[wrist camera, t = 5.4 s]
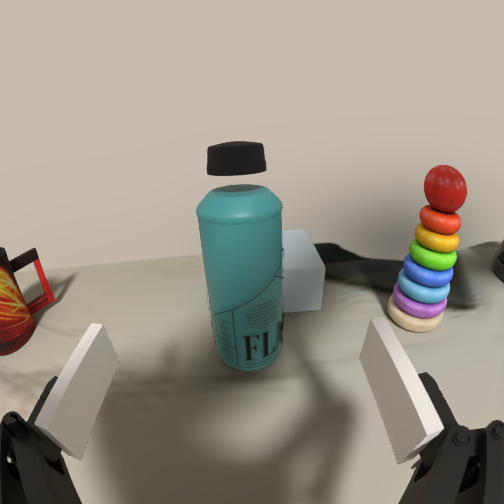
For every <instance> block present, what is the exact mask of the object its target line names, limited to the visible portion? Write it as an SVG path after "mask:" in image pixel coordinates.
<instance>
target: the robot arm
mask: <svg viewBox="0 0 504 504" xmlns="http://www.w3.org/2000/svg"><path fill="white" fill-rule="evenodd" d="M492 268H493V270H494V272H495V273H496V275H497V276H498V277H499V278H500V279H501V280H502V281H504V240H503V242H502V243H501V245H500V247H499V248H498V250H497V252H496V253H495V256H494V259H493V263H492ZM359 359H360V361H361V364H362V366H363V369H364V371H365V374H366V376H367V379H368V381H369V384H370V387H371V389H372V392H373V394H374V397H375V400H376V403H377V405H378V408H379V411H380V413H381V416H382V419H383V422H384V425H385V428H386V431H387V433H388V436H389V439H390V442H391V445H392V448H393V452H394V455H395V458H396V461H397V464H400V463H403V462H406V461H409V460H411V459H413V458H415V457H416V456H417V455H418V454H420V457H421V458H420V459H419V460H418V461H417V462H416V463H415V464H413V466H412V467H411V468H412V469H413V468H415V467H416V469H415V471H414V473H413V476H412V478H411V480H410V482H409V484H408V486H407V488H406V490H405V492H404V494H403V496H402V498H401V500H400V502H399V504H504V423H503V422H502V421H499V420H495V421H492V422H491V423H490V424H489V425H488V426H487V427H486V428H481V429H474V430H469V429H468V428H467V427H465V426H460V425H459V424H458V423H457V421H456V420H455V418H454V416H453V414H452V412H451V410H450V408H449V406H448V404H447V402H446V400H445V398H444V397H443V394H442V393H441V391H440V390H439V387H438V385H437V383H436V382H435V380H434V379H433V378H432V377H431V376H430V375H429V374H428V373H427V372H425V373H421V374H417V373H416V371H415V369H414V367H413V365H412V363H411V362H410V360H409V358H408V356H407V354H406V353H405V351H404V349H403V347H402V346H401V344H400V342H399V341H398V339H397V337H396V335H395V334H394V332H393V330H392V329H391V327H390V325H389V324H388V322H387V320H386V319H385V317H378V318H371V319H370V323H369V326H368V330H367V333H366V337H365V340H364V344H363V347H362V350H361V354H360V357H359ZM119 363H120V361H119V359H118V357H117V354H116V352H115V350H114V348H113V346H112V344H111V341H110V339H109V337H108V335H107V332H106V330H105V328H104V325H103V324H93V323H92V324H91V325H90V327H89V328H88V330H87V331H86V333H85V334H84V336H83V337H82V339H81V341H80V342H79V344H78V345H77V347H76V349H75V350H74V352H73V353H72V355H71V357H70V358H69V360H68V362H67V363H66V365H65V367H64V369H63V370H62V372H61V374H60V375H59V377H56V376H55V377H54V378H52V379H51V380H50V381H49V382H48V383H47V385H46V387H45V389H44V392H42V394H41V396H40V399H39V400H38V402H37V404H36V405H35V407H34V409H33V411H32V413H31V415H30V417H29V419H28V421H27V422H26V421H25V420H24V419H23V418H22V417H21V416H20V415H19V414H18V413H17V412H14V411H12V412H8V413H7V414H5V415H4V417H3V418H2V421H1V423H0V504H82V502H81V500H80V498H79V496H78V494H77V492H76V489H75V487H74V485H73V482H72V480H71V477H70V475H69V472H68V469H67V467H66V464H65V461H64V458H63V456H62V455H61V454H60V453H61V450H63V451H64V452H65V453H66V454H67V455H69V456H71V457H74V458H76V459H79V460H81V459H82V456H83V454H84V451H85V448H86V445H87V442H88V439H89V436H90V434H91V431H92V428H93V426H94V423H95V420H96V418H97V415H98V413H99V410H100V408H101V405H102V403H103V400H104V398H105V395H106V393H107V390H108V388H109V386H110V383H111V381H112V379H113V376H114V374H115V372H116V370H117V367H118V365H119ZM7 456H8V457H9V458H10V459H11V463H9V462H8V461H7Z"/></svg>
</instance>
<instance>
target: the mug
mask: <svg viewBox="0 0 504 504" xmlns="http://www.w3.org/2000/svg"><path fill="white" fill-rule="evenodd" d="M32 262H34V265H35V268H36V271H37V274H38V276H39V279H40V282H41V284H42V287H43V289H44V292H45V293H44V294H42V295H41V296H39V297H38V298H36V299H34V300H33V301H31V302H30V303H28V304H27V305H26V303H25V300H24V298H23V296H22V294H21V291H20V289H19V286H18V284H17V281H16V279H15V276H14V274H13V273H14V272H16V271H17V270H19V269H21V268H23V267H24V266H26V265H28V264H30V263H32ZM54 300H55V298H54V296H53V294H52V291H51V289H50V286H49V283H48V281H47V279H46V277H45V274H44V272H43V269H42V266H41V263H40V260H39V257H38V254H37V251H36V248H33V249H31V250H29V251H27V252H25V253H23V254H22V255H20V256H18V257H16V258H14V259H12V260H11V261H9V260H8V257H7V254H6V251H5V248H2V247H0V356H5V355H9V354H12V353H14V352H15V351H17V350H19V349H20V348H21V347H23V346H24V345H25V344H26V343H27V342H28V341H29V339H30V338H31V336H32V335H33V333H34V330H35V321H34V319H33V317H32V314H34V313H35V312H37V311H38V310H40V309H41V308H43V307H44V306H46V305H47V304H49V303H51V302H52V301H54Z"/></svg>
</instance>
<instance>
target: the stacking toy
mask: <svg viewBox="0 0 504 504" xmlns="http://www.w3.org/2000/svg"><path fill="white" fill-rule="evenodd" d="M424 192H425V196H426V198H427V200H428V202H429V204H430V205H426V206H424V207H423V208H422V209H421V211H420V220H421V223H420V224H418V225H417V227H416V229H415V236H416V239H414V240H413V241H412V243H411V245H410V253H409V254H408V255H407V256H406V257H405V259H404V262H403V268H402V269H401V271H400V272H399V275H398V281H397V282H396V284H395V286H394V288H393V294H392V295H391V296H390V298H389V300H388V304H387V308H388V313H389V315H390V317H391V318H392V319H393V320H394V322H396V323H397V324H398V325H399V326H401V327H403V328H404V329H407V330H409V331H413V332H428V331H431V330H433V329H435V328H436V327H437V326H438V325H439V324H440V323H441V321H442V318H443V311H444V309H445V307H446V304H447V296H448V294H449V291H450V283H449V282H450V281H451V279H452V277H453V268H452V266H453V265H454V264H455V262H456V259H457V255H456V252H455V249H456V248H457V246H458V244H459V238H458V235H457V233H456V232H457V231H458V230H459V229H460V227H461V219H460V217H459V216H458V214H457V213H455V211H457V210H458V209H459V208H460V207H461V206H462V205H463V203H464V202H465V199H466V196H467V186H466V182H465V180H464V178H463V176H462V174H461V173H460V172H459V171H458V170H457V169H455V168H453V167H451V166H448V165H438V166H436V167H434V168H432V169H431V170H430V171H429V172H428V174H427V176H426V178H425V181H424Z"/></svg>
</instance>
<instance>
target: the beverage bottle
mask: <svg viewBox="0 0 504 504" xmlns="http://www.w3.org/2000/svg"><path fill="white" fill-rule="evenodd" d="M207 155H208V156H207V174H208V175H214V176H234V175H247V174H255V173H261V172H264V171H266V161H265V155H264V147H263V144H262V143H256V142H244V141H235V142H226V143H222V144H217V145H213V146H209V147H208V152H207ZM281 212H282V202H281V201H280V200H279V198H278V197H277V196H276V195H275V194H274V193H273V192H271V191H270V190H269V189H268V188H266V187H264V186H259V185H249V184H248V185H246V184H245V185H244V184H242V185H230V186H223V187H219V188H216V189H213V190H211V191H210V192H209V193H208V194H207V195H206V196H205V198H204V199H203V200H202V201H201V202H200V204H199V205H198V207H197V209H196V213H197V217H198V222H199V230H200V238H201V246H202V253H203V260H204V267H205V274H206V281H207V287H208V293H207V295H208V294H209V303H210V308H209V309H210V310H211V311H210V312H211V317H212V323H213V325H212V324H211V326H213V329H214V335H215V341H216V346H217V351H218V354H219V355H220V357H221V359H222V360H223V361H224V362H225V363H226V364H227V365H229V366H231V367H233V368H235V369H239V370H246V371H251V370H258V369H262V368H264V367H266V366H268V365H270V364H271V363H272V362H273V361H274V360H275V359H276V358H277V356H278V355H279V351H280V349H281V343H282V340H283V339H282V332H283V331H282V330H283V323H282V311H283V306H282V299H283V297H284V296H283V297H282V290H283V289H282V279H284V277H282V268H284V267H282V259H283V258H282V251H283V248H282V234H283V233H282V217H281ZM283 238H284V237H283ZM283 256H284V255H283ZM283 300H284V299H283ZM283 320H284V314H283ZM212 332H213V331H212ZM213 337H214V336H213ZM214 343H215V342H214ZM280 352H281V351H280Z"/></svg>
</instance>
